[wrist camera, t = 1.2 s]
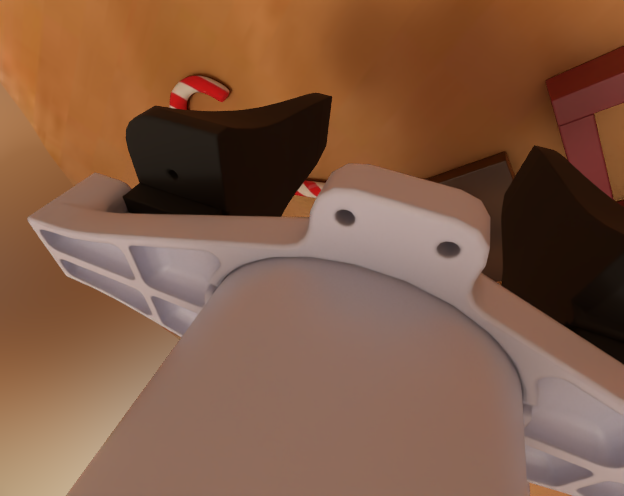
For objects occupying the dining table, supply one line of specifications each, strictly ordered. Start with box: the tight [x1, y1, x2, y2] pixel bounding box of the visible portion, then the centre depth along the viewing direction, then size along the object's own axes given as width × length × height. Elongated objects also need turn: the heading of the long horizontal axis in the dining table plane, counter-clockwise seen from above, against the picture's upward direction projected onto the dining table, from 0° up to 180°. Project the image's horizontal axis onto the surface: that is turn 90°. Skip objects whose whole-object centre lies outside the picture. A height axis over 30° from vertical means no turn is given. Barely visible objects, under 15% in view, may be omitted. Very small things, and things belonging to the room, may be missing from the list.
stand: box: [426, 152, 515, 282], centre depth 24 cm, size 10×10×7 cm
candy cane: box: [170, 76, 325, 198], centre depth 27 cm, size 8×1×15 cm
